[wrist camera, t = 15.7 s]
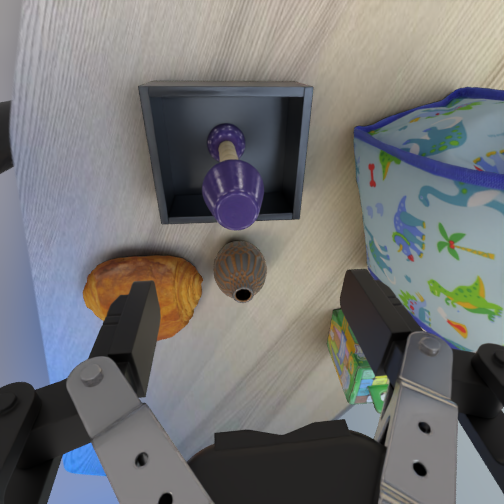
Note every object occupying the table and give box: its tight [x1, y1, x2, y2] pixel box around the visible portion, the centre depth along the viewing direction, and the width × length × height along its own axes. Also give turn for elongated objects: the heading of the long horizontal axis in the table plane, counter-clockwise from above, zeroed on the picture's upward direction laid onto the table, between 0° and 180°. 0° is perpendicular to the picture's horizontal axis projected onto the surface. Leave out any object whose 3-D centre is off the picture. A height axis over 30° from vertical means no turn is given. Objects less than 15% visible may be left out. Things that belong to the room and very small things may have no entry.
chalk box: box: [327, 309, 389, 414], centre depth 47 cm, size 9×9×15 cm
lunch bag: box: [353, 87, 504, 353], centre depth 29 cm, size 22×17×26 cm
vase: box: [214, 241, 267, 303], centre depth 39 cm, size 7×7×9 cm
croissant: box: [83, 255, 203, 341], centre depth 41 cm, size 14×16×8 cm
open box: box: [138, 81, 313, 224], centre depth 31 cm, size 15×13×7 cm
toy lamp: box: [202, 123, 264, 230], centre depth 27 cm, size 5×5×17 cm
